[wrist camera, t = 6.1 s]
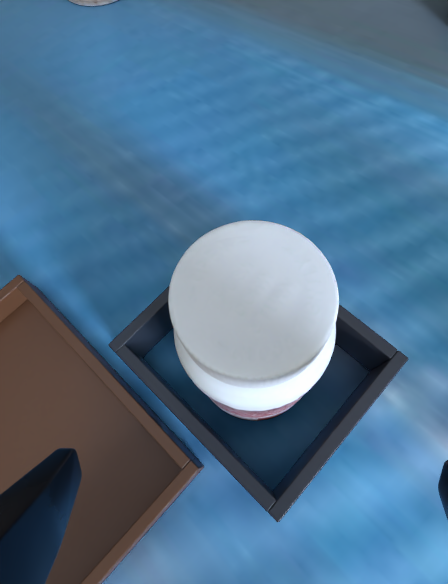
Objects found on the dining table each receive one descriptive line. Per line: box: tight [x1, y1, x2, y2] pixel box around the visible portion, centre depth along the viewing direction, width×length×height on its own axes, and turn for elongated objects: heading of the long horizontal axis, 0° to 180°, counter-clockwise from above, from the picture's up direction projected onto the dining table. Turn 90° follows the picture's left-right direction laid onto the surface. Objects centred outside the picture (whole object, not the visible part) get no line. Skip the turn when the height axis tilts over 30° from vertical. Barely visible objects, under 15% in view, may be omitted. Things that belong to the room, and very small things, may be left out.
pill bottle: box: [168, 220, 339, 421], centre depth 17 cm, size 6×6×11 cm
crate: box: [109, 286, 408, 522], centre depth 20 cm, size 11×9×4 cm
